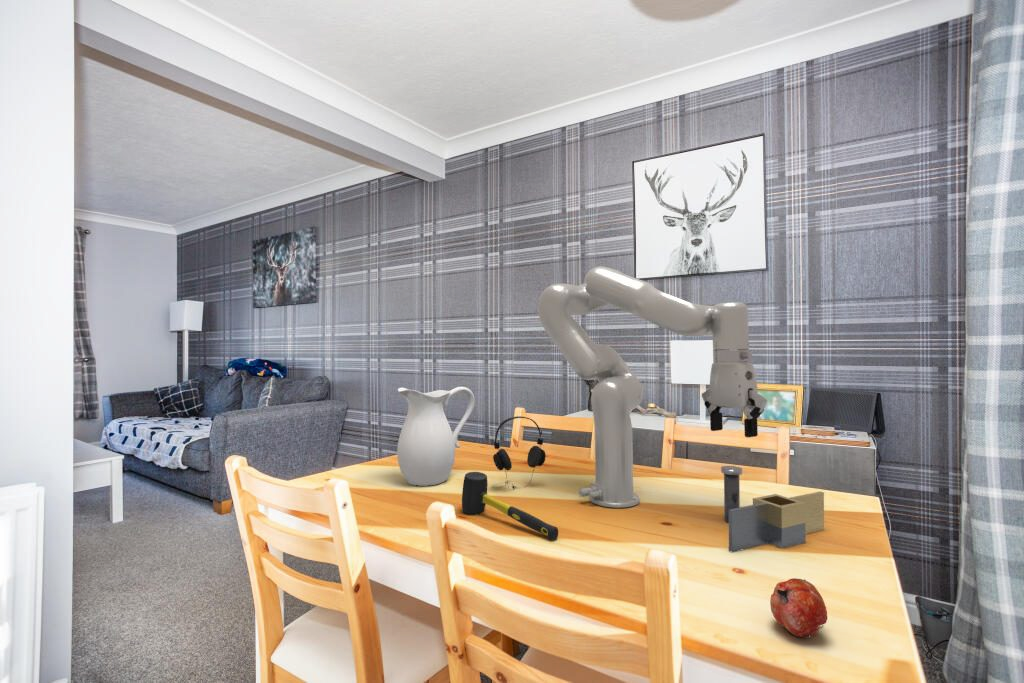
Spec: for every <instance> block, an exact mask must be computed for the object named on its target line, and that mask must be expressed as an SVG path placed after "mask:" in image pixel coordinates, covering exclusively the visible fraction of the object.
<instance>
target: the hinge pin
mask: <svg viewBox="0 0 1024 683" xmlns="http://www.w3.org/2000/svg"><path fill="white" fill-rule="evenodd" d="M720 472H721V473H722V474H723V494H724V495H723V499H724V500H723V501H724V504H723V505H724V507H723V508H724V509H723V510H724V511H723V512H724V515H723V517H724V522H725V523H727V522H728V523H727V524H729V510H730V509H735V508H740V507H741V503H740V502H741V501H740V500H741V499H740V495H741V494H740V476H742V475H743V468H742V467H739V466H735V465H722V466H721V467H720Z"/></svg>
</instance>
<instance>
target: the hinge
mask: <svg viewBox="0 0 1024 683" xmlns="http://www.w3.org/2000/svg"><path fill="white" fill-rule="evenodd" d="M824 530H825V492H823V491H816V492H811V493H805V494H800V495H795V496H791V497H790V496H789V497H788V496H787V497H786V496H783V495H780V494H777V493H774V494H773V493H772V494H768V495H763V496H758V497H753V498H752V504H750V505H745V506H740V508H735V509H730V510H729V523H728V552H731V551H732V552H731V553H734V551H735V552H738V550H739V551H742V550H741V549H743V550H746V548H747V549H750V548H749V547H751V548H755V547H759V546H763V544H764V545H767V543H768V544H770V545H772V546H774V545H775V547H777V548H779V547H780V549H782V548H783V549H786V548H785V547H787V548H789V547H794V546H798V545H801V544H806V535H807V534H808V535H809V534H812V533H815V532H817V533H818V532H820V531H824Z"/></svg>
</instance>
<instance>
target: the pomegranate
mask: <svg viewBox="0 0 1024 683" xmlns="http://www.w3.org/2000/svg"><path fill="white" fill-rule="evenodd" d="M769 602H770V610H771V613H772V616H773V617H774V619H775V620H776V622H777V623H778V624H779V625H781V626H782V627H784V628H785V629H786V630H788V632H789V633H791V634H792V635H794V636H796V637H799V638H804V637H808V638H810V637H812V636H816V635H817V634H818V633H819V627H821V625H825V624H827V621H828V612H827V611H828V609H827V606H826V604H825V601H824V598H823V596H822V595H821V594H820V592H819V591H818V589H817V587H816V586H815V585H814V584H812V583H811V582H810V581H808V580H806V579H802V578H796V577H794V578H790V579H787V580H786V581H779V582H778V583H776V585H775V587H774V590H773V593H772V594H771V596H770V601H769ZM809 636H810V637H809Z"/></svg>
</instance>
